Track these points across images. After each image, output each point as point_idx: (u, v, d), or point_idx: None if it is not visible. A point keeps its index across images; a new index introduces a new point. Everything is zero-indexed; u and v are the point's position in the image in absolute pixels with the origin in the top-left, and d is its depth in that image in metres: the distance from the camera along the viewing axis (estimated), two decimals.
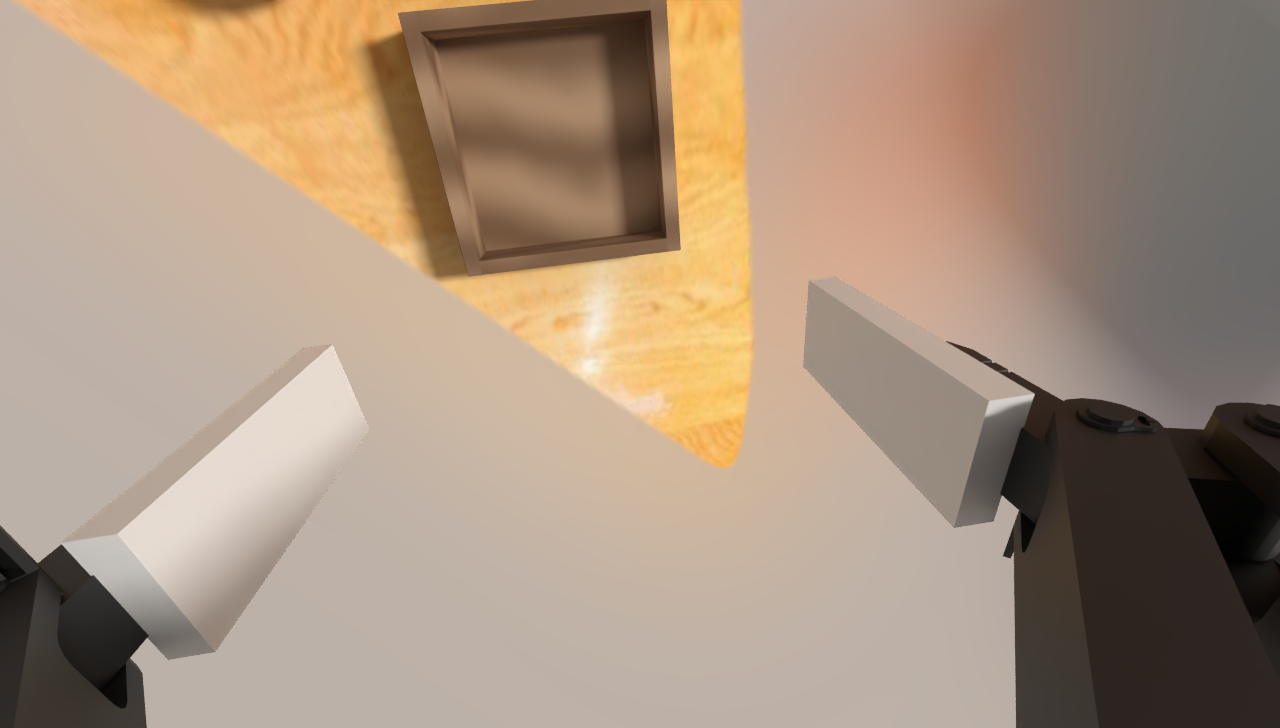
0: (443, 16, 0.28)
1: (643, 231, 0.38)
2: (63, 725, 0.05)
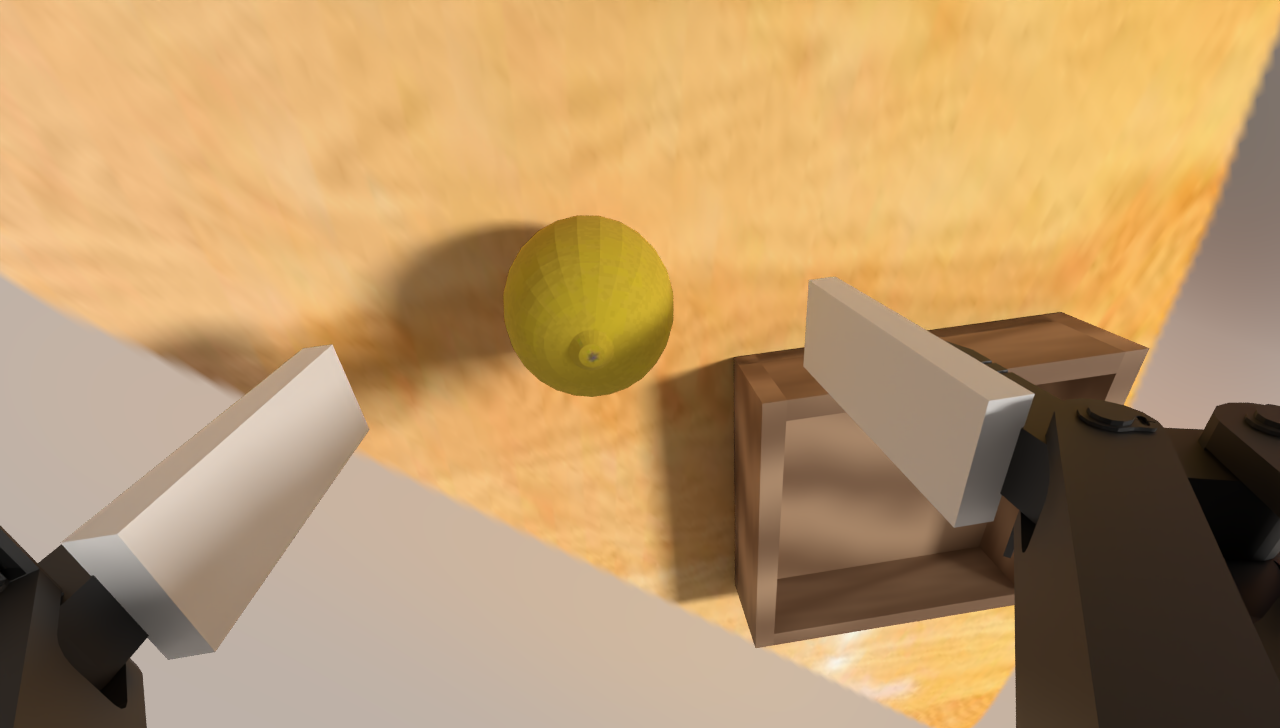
0: (825, 402, 0.19)
1: (958, 549, 0.29)
2: (63, 725, 0.05)
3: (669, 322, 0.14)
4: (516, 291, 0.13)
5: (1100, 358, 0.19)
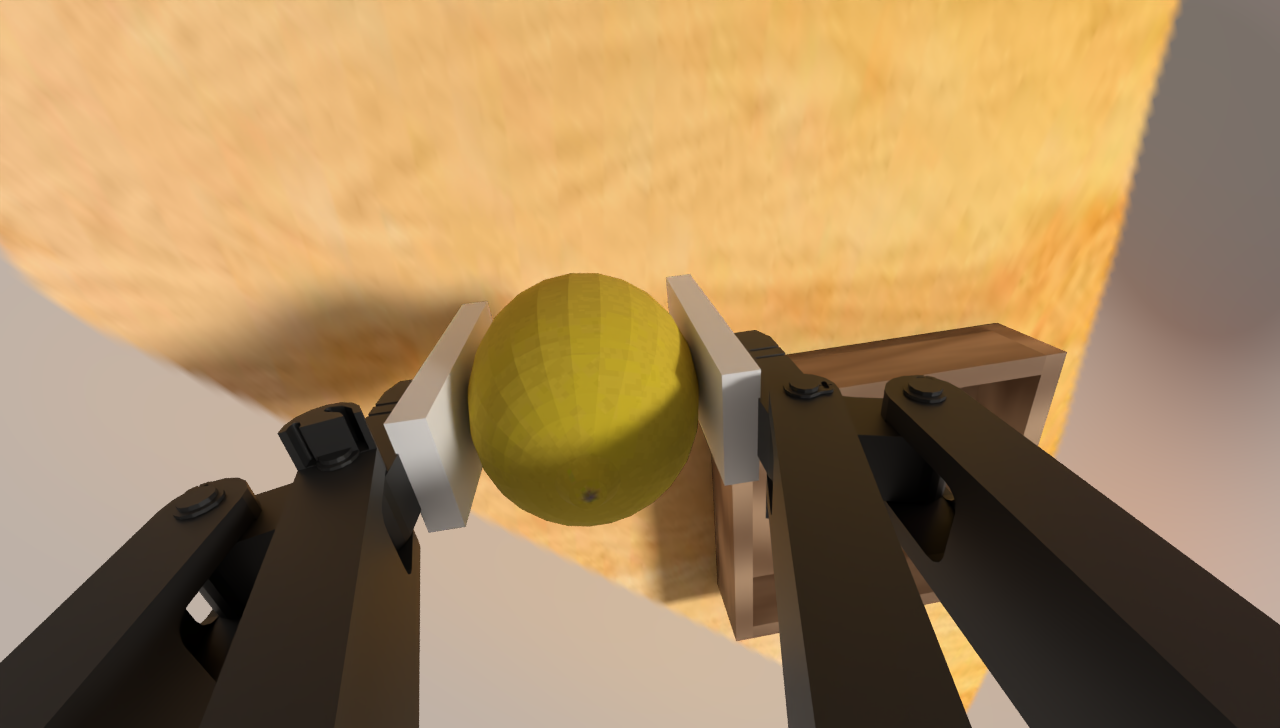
0: None
1: None
2: (380, 580, 0.07)
3: (695, 424, 0.10)
4: (481, 390, 0.09)
5: (1025, 361, 0.22)
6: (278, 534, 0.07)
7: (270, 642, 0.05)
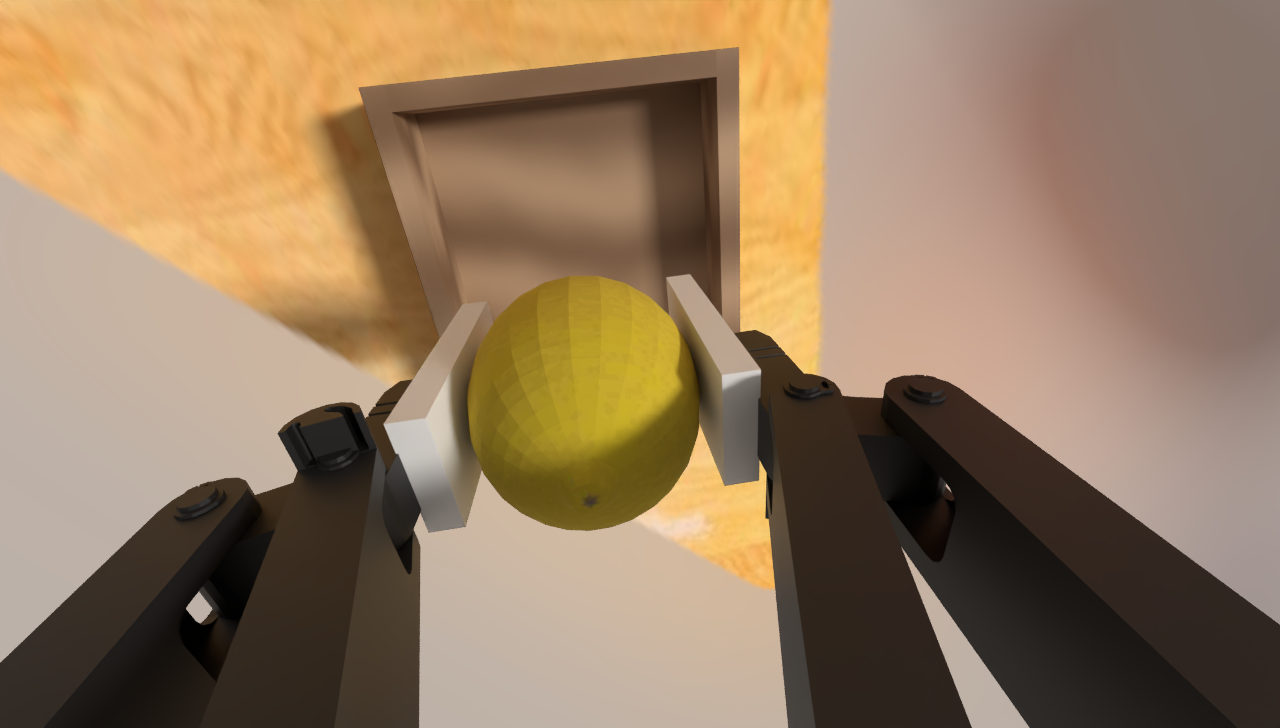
0: (424, 91, 0.20)
1: None
2: (380, 580, 0.07)
3: (696, 428, 0.10)
4: (481, 393, 0.09)
5: (692, 55, 0.20)
6: (278, 534, 0.07)
7: (270, 642, 0.05)
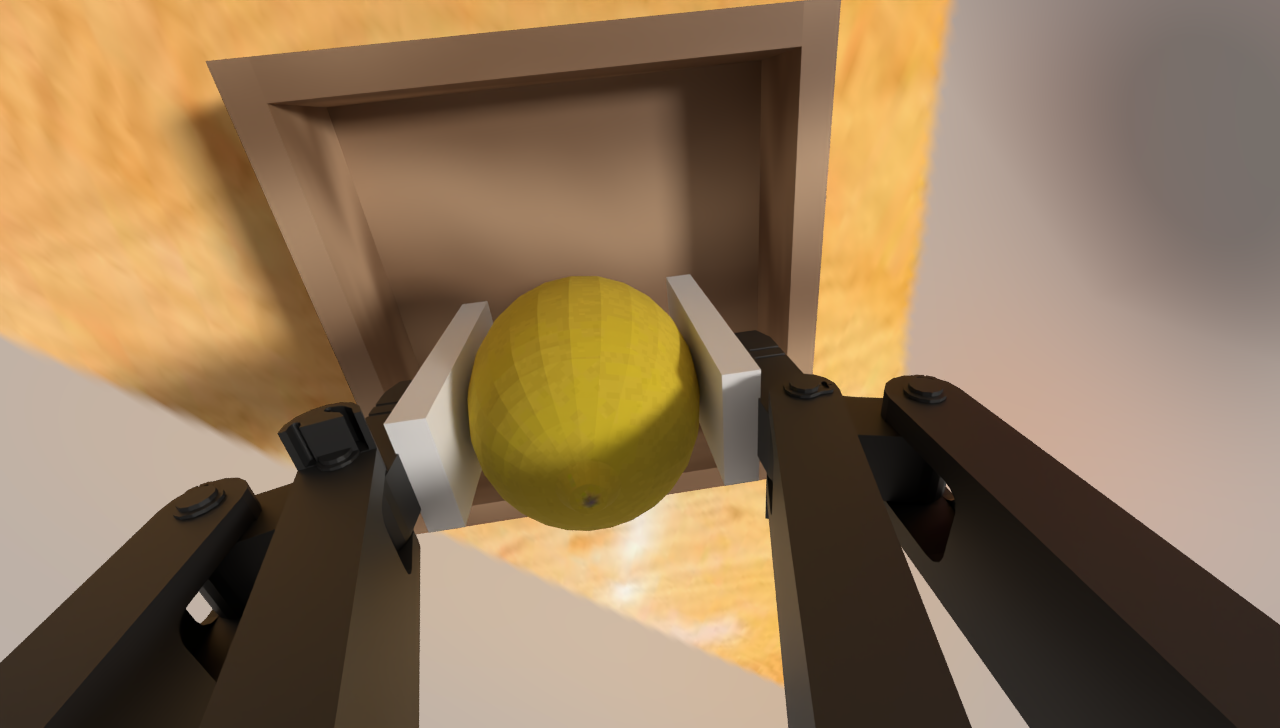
0: (319, 68, 0.12)
1: None
2: (380, 580, 0.07)
3: (696, 428, 0.10)
4: (481, 393, 0.09)
5: (764, 11, 0.12)
6: (278, 534, 0.07)
7: (270, 642, 0.05)
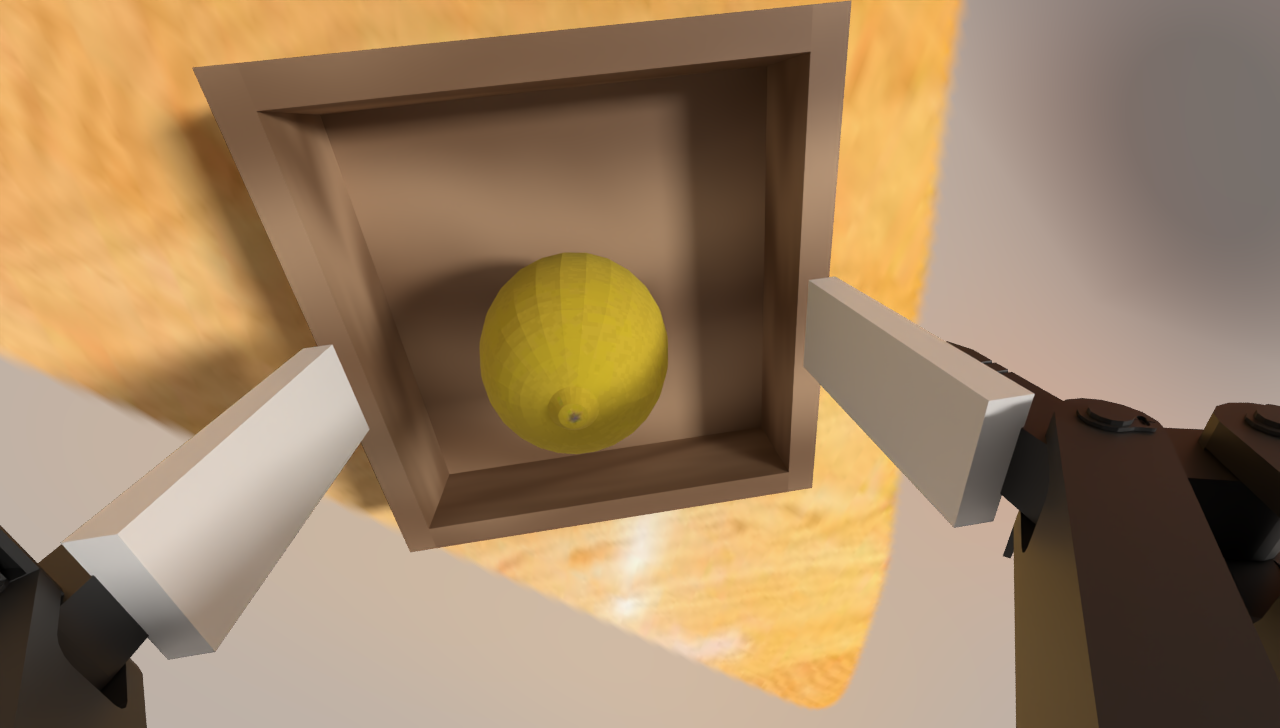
0: (310, 74, 0.11)
1: (731, 430, 0.21)
2: (63, 725, 0.05)
3: (663, 372, 0.13)
4: (491, 340, 0.12)
5: (772, 15, 0.12)
6: None
7: None
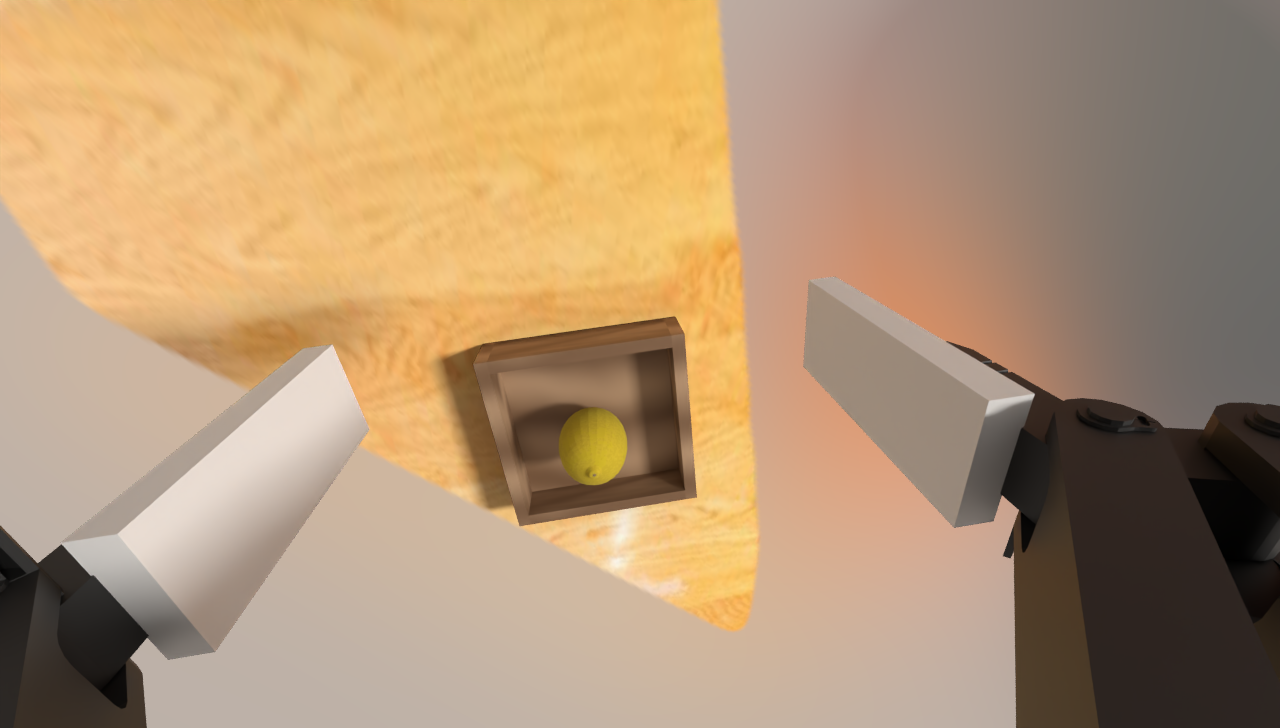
0: (508, 363, 0.36)
1: (664, 470, 0.45)
2: (63, 725, 0.05)
3: (624, 456, 0.37)
4: (566, 448, 0.36)
5: (658, 339, 0.36)
6: None
7: None
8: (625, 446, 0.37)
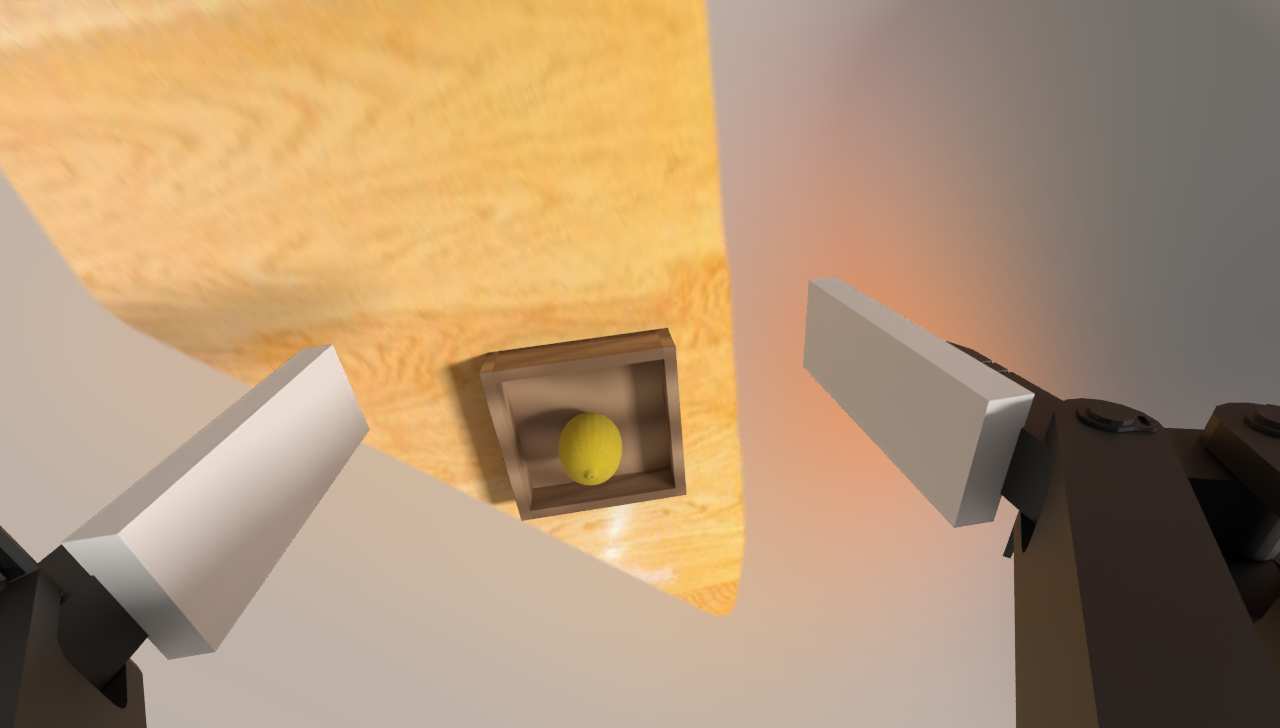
0: (511, 373, 0.38)
1: (656, 469, 0.48)
2: (63, 725, 0.05)
3: (619, 459, 0.40)
4: (565, 451, 0.39)
5: (650, 351, 0.39)
6: None
7: None
8: (620, 449, 0.40)
